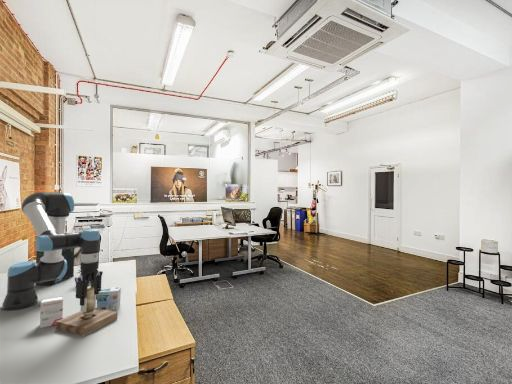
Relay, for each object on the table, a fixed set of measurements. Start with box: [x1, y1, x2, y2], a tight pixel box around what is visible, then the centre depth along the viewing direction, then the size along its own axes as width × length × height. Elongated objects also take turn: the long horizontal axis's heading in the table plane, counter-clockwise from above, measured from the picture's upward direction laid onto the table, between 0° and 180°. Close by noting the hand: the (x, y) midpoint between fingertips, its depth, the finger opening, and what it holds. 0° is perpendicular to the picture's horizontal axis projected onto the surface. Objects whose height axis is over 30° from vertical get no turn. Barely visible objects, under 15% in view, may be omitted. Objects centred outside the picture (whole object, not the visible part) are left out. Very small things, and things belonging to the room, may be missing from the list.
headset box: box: [34, 248, 75, 287], centre depth 195 cm, size 22×12×26 cm, turn 179°
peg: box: [83, 286, 94, 319], centre depth 131 cm, size 4×4×14 cm
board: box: [55, 307, 118, 337], centre depth 131 cm, size 18×18×4 cm
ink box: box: [39, 296, 64, 329], centre depth 130 cm, size 9×5×12 cm, turn 125°
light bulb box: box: [96, 286, 122, 312], centre depth 149 cm, size 11×7×11 cm, turn 105°
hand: (88, 309), depth 131 cm, fingers closed on peg, 4 cm apart
